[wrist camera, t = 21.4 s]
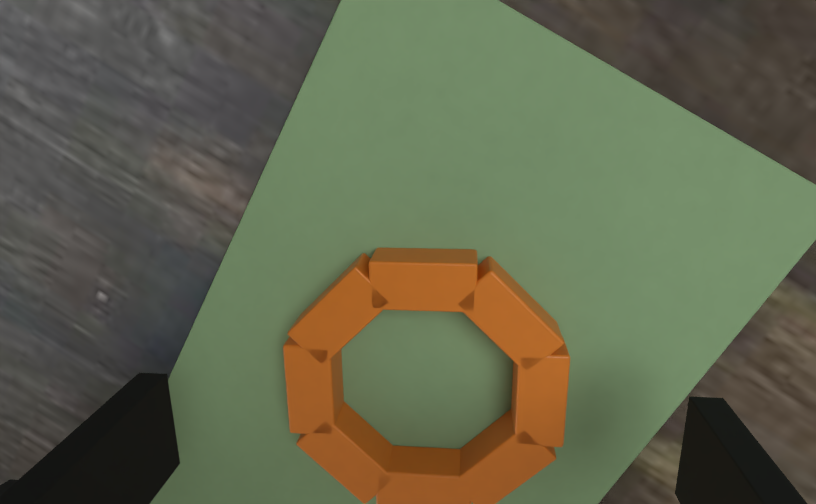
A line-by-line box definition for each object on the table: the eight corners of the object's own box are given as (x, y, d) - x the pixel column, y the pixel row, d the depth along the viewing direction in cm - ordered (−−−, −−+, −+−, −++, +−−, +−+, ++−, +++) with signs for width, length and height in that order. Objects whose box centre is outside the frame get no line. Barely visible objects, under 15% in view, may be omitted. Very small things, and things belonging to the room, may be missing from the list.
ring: (290, 245, 17) (274, 259, 15) (569, 250, 16) (578, 266, 15) (307, 475, 19) (294, 505, 18) (551, 490, 18) (558, 522, 17)
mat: (376, -68, 15) (373, -73, 14) (835, 198, 15) (846, 202, 15) (123, 484, 21) (115, 494, 20) (461, 657, 21) (461, 670, 21)
